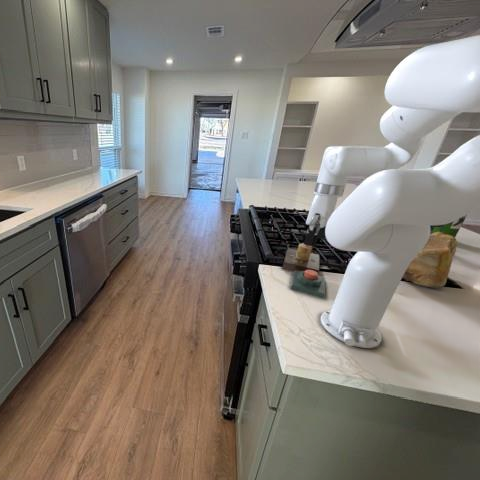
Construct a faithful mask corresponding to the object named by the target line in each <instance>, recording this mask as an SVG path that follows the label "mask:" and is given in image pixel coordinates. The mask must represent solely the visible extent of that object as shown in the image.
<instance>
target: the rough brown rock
mask: <svg viewBox="0 0 480 480" xmlns="http://www.w3.org/2000/svg"><path fill="white" fill-rule="evenodd" d="M457 242H458V241H457V238H456V237H455V238H454V237H453V236H451V235H445V234H444V233H442V232H435V233H433V234H430V237H429V239H428V241H427V243H426V244H425V246H424V247H423V249H422V250H421V251H420V252H419V253H418V255H417V256H416V257H415V258H414V259H413V261H412V262H411V263H410V265H409V266H408V268H407V270H406V271H405V273H404V275H403V277H402V279H404V280H405V281H406V282H412V283H413V284H415V285H419V286H422V287H427V288H431V289H439V288H442V287H443V288H444V286H445V285H446V283H448V282H447V280H448V278H449V274H450V271H451V267H452V262H453V259H454V257H455V254H456V252H457Z"/></svg>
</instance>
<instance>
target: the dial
mask: <svg viewBox="0 0 480 480" xmlns="http://www.w3.org/2000/svg"><path fill="white" fill-rule="evenodd" d="M313 248H314V247H312V246H308V245H305V244H304V242H303V243H301V242H300V243H299V244H298V246H297V249H296V250H297V253H296V258H297V259H299V260H303V261H308V260H309V258H310V254H311V253H312V250H313Z"/></svg>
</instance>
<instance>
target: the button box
mask: <svg viewBox="0 0 480 480" xmlns="http://www.w3.org/2000/svg"><path fill="white" fill-rule="evenodd" d="M304 273H305V271H297V270H295V271H294V272H293V276H292V280H291V281H292V282H291V286H290V289H291V290H293V291H296V292H300V293H303V294H307V295H310V296H314V297H318V298H321V299H324V298H325V296H326V280H325V279H326V278H325V277H324V276H321V275H319V274H318V276H317V279H316V280H311V279H308V278H306V277H304Z"/></svg>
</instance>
